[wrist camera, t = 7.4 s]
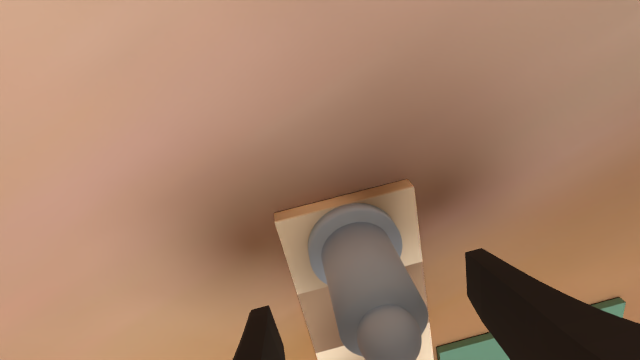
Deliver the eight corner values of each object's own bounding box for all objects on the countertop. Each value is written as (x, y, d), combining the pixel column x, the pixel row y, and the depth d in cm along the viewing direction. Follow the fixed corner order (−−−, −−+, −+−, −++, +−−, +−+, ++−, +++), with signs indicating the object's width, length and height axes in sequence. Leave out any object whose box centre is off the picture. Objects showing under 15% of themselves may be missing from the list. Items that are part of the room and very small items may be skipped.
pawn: (391, 192, 16) (462, 295, 10) (401, 266, 17) (467, 389, 12) (298, 216, 16) (318, 334, 10) (318, 289, 17) (344, 423, 12)
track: (407, 178, 16) (414, 186, 16) (438, 440, 25) (444, 453, 25) (273, 213, 16) (274, 222, 16) (352, 465, 25) (355, 478, 24)
